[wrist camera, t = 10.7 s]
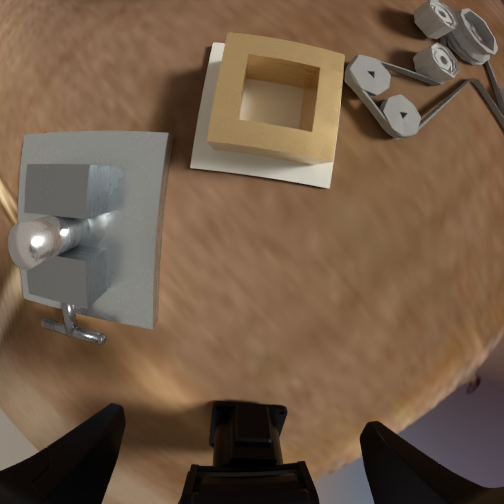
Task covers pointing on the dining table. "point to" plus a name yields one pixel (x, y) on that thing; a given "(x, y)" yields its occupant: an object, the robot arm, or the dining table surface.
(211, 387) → the dining table surface
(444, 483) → the robot arm
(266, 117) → the felt mat
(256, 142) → the brass collar
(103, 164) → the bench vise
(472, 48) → the pulley system
